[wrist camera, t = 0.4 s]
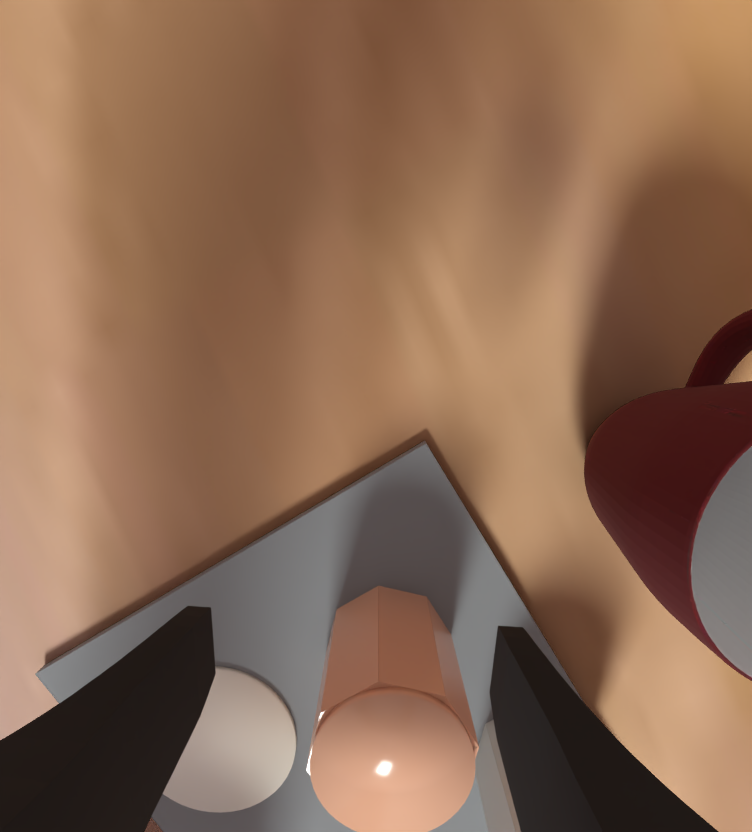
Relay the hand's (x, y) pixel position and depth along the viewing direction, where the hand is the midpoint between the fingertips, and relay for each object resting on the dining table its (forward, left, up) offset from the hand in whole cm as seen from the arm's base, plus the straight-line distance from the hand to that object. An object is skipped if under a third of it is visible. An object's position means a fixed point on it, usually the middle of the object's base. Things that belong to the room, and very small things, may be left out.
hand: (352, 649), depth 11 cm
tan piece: (-3, -6, -10) cm, 12 cm away
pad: (-13, -6, -10) cm, 17 cm away
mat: (-7, -9, -10) cm, 15 cm away
